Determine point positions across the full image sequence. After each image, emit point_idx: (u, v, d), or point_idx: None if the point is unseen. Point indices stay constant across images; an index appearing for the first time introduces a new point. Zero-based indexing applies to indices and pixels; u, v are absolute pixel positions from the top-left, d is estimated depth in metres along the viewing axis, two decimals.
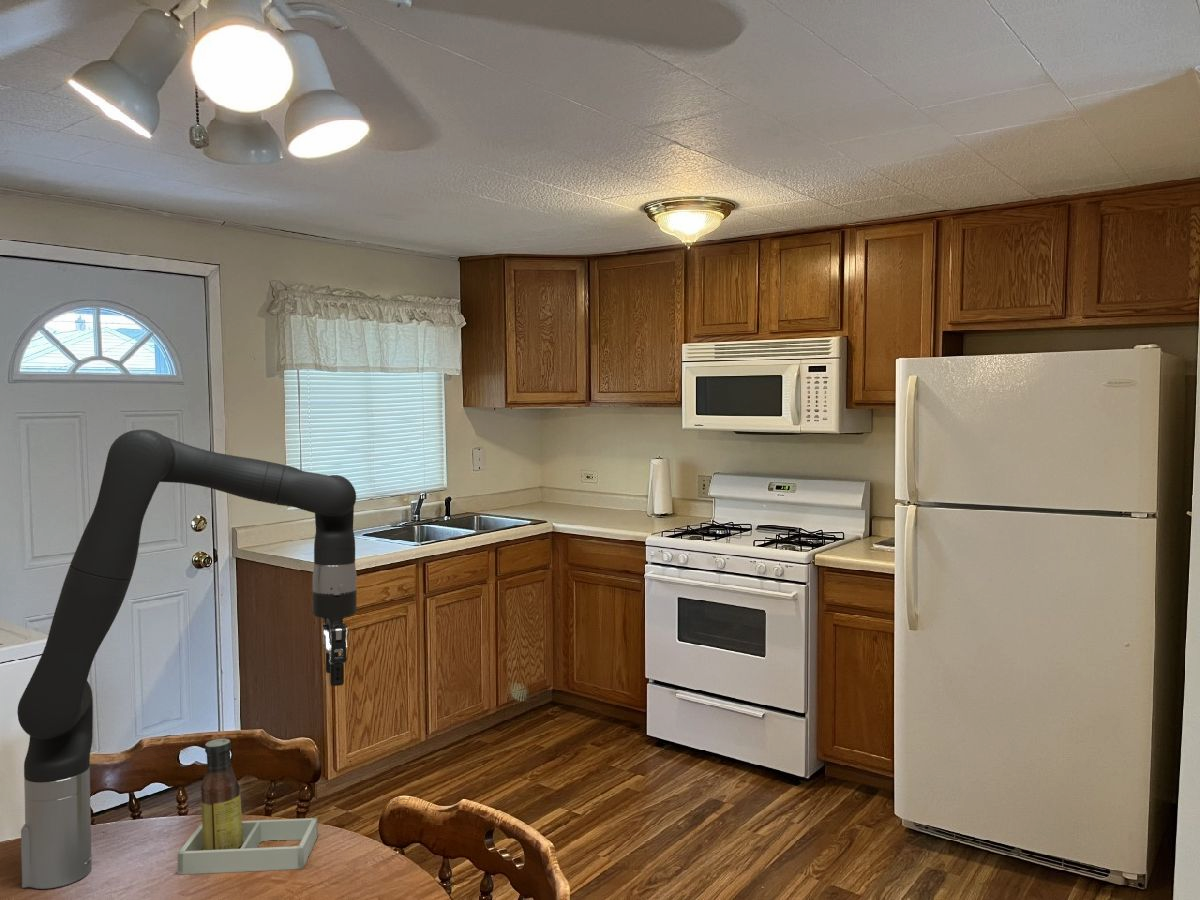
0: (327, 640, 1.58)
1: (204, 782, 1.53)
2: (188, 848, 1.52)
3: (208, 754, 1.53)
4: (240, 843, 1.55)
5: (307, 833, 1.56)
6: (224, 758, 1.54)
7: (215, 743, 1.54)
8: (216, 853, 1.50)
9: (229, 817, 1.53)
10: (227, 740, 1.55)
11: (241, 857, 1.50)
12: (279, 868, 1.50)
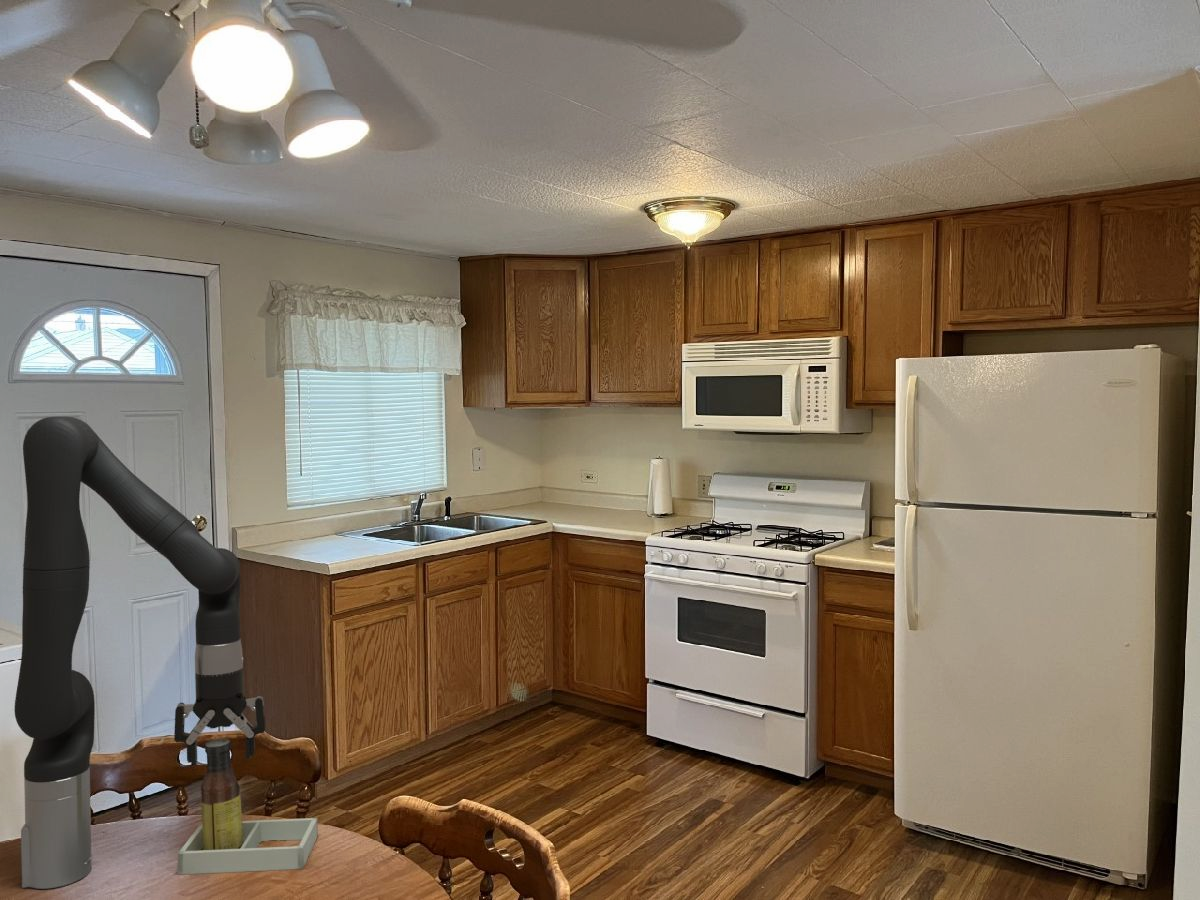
0: (238, 717, 1.54)
1: (204, 782, 1.53)
2: (188, 848, 1.52)
3: (208, 754, 1.53)
4: (240, 843, 1.55)
5: (307, 833, 1.56)
6: (224, 758, 1.54)
7: (215, 743, 1.54)
8: (216, 853, 1.50)
9: (229, 817, 1.53)
10: (227, 740, 1.55)
11: (241, 857, 1.50)
12: (279, 868, 1.50)
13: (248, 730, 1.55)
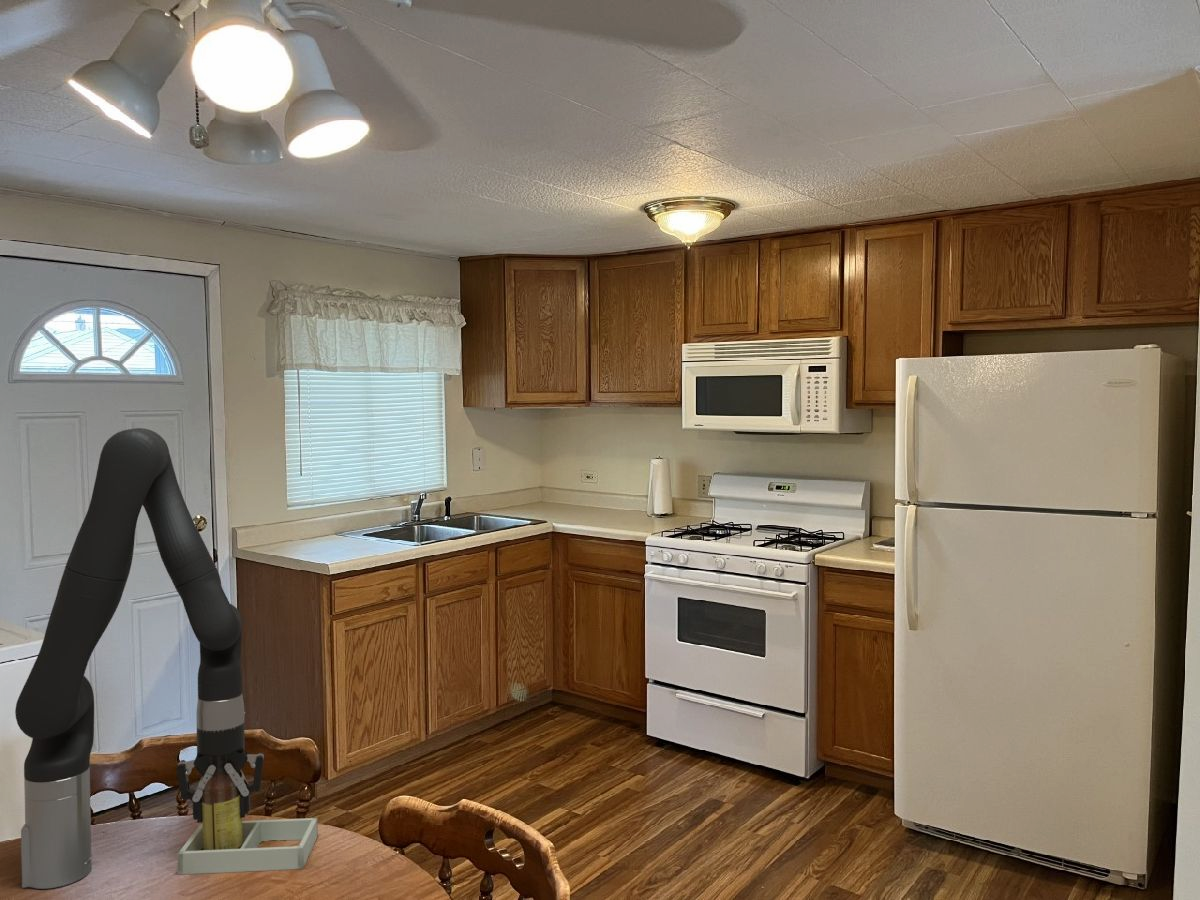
0: (237, 774, 1.54)
1: (204, 782, 1.53)
2: (188, 848, 1.52)
3: None
4: (240, 843, 1.55)
5: (307, 833, 1.56)
6: (225, 757, 1.54)
7: None
8: (216, 853, 1.50)
9: (229, 817, 1.53)
10: None
11: (241, 857, 1.50)
12: (279, 868, 1.50)
13: (243, 788, 1.55)
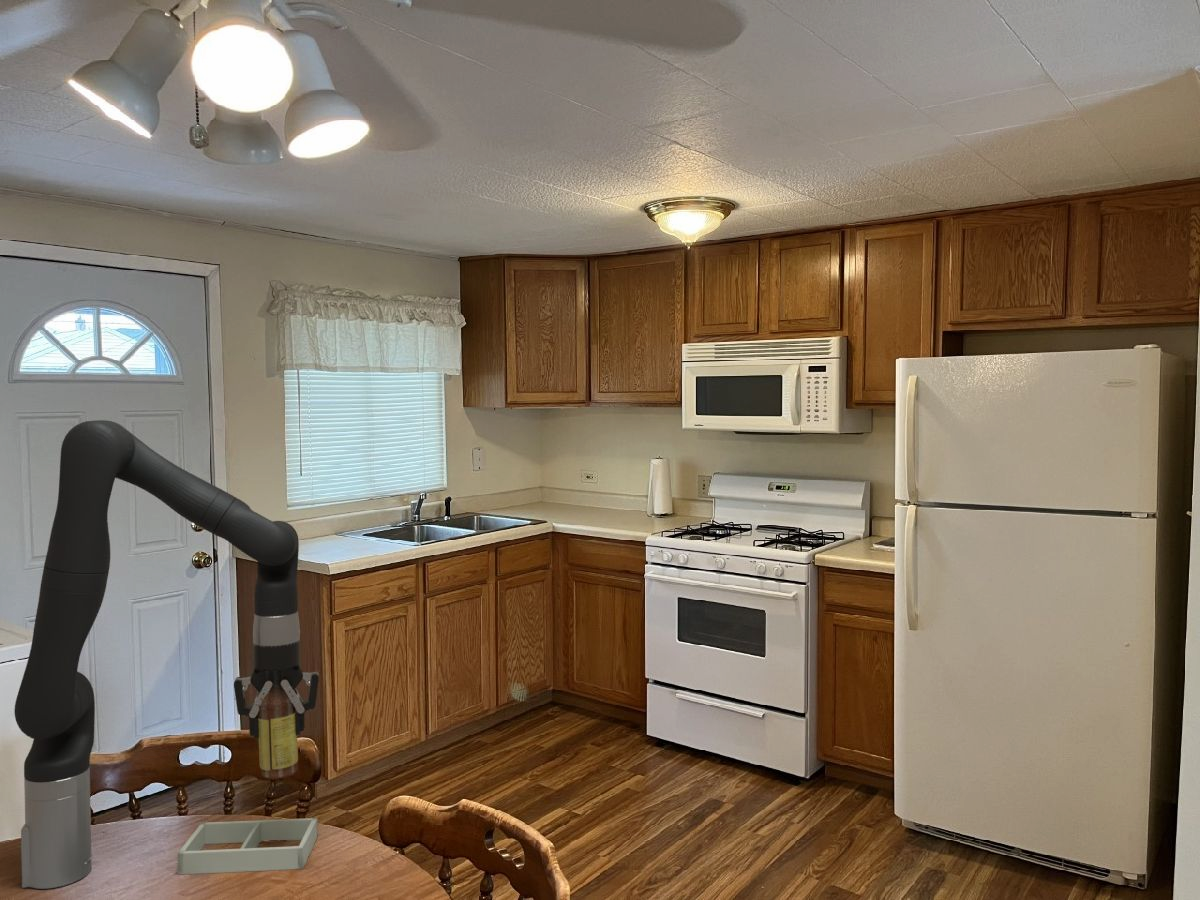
0: (293, 691, 1.55)
1: (261, 698, 1.53)
2: (188, 848, 1.52)
3: None
4: (296, 760, 1.55)
5: (307, 833, 1.56)
6: (281, 674, 1.54)
7: None
8: (216, 853, 1.50)
9: (286, 733, 1.53)
10: None
11: (241, 857, 1.50)
12: (279, 868, 1.50)
13: (299, 705, 1.55)
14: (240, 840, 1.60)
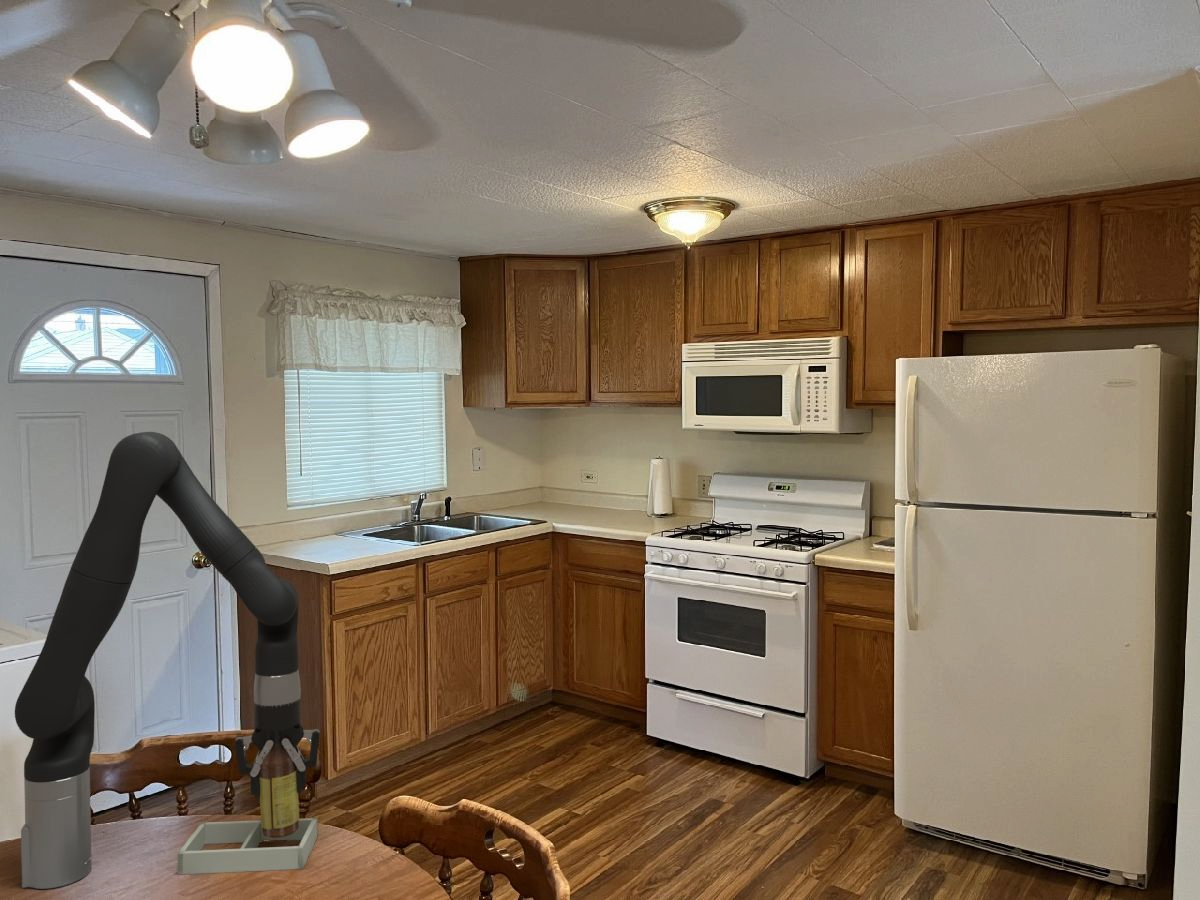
0: (294, 749, 1.55)
1: (262, 757, 1.54)
2: (188, 848, 1.52)
3: None
4: (297, 818, 1.56)
5: (307, 833, 1.56)
6: (282, 733, 1.54)
7: None
8: (216, 853, 1.50)
9: (287, 792, 1.54)
10: None
11: (241, 857, 1.50)
12: (279, 868, 1.50)
13: (300, 764, 1.56)
14: (240, 840, 1.60)
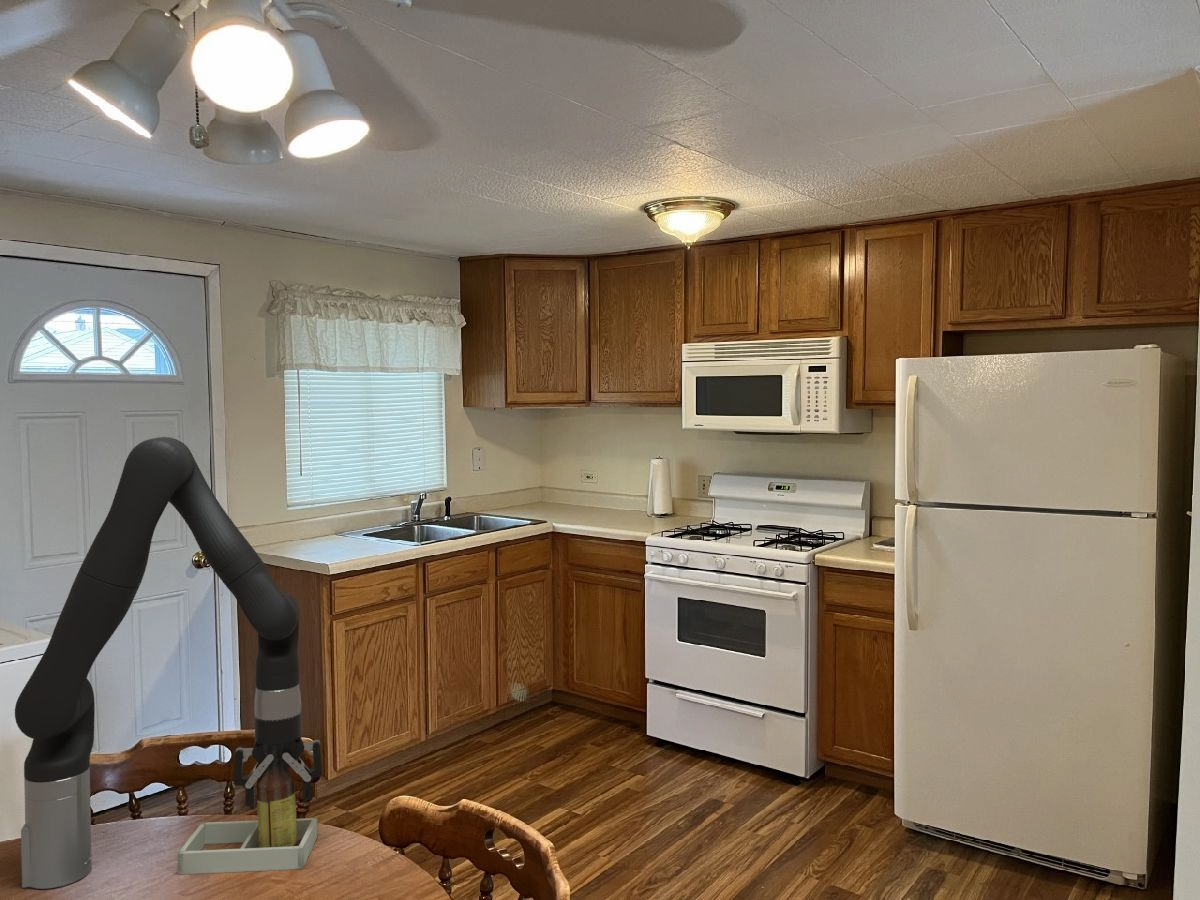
0: (296, 761, 1.55)
1: (260, 780, 1.54)
2: (188, 848, 1.52)
3: (264, 752, 1.54)
4: (295, 841, 1.56)
5: (307, 833, 1.56)
6: (280, 756, 1.55)
7: None
8: (216, 853, 1.50)
9: (285, 815, 1.54)
10: None
11: (241, 857, 1.50)
12: (279, 868, 1.50)
13: (306, 774, 1.56)
14: (240, 840, 1.60)
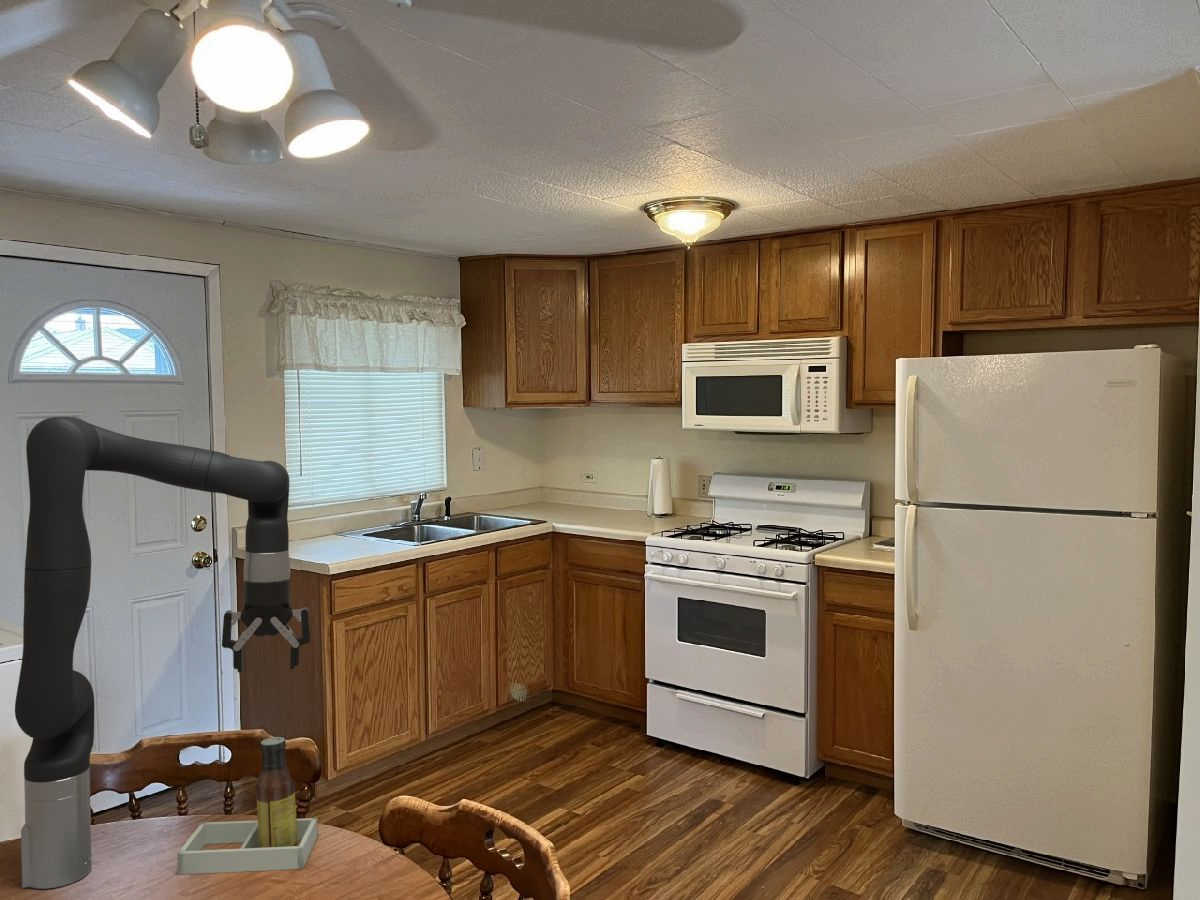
0: (285, 626, 1.56)
1: (260, 780, 1.54)
2: (188, 848, 1.52)
3: (264, 752, 1.54)
4: (295, 841, 1.56)
5: (307, 833, 1.56)
6: (280, 756, 1.55)
7: (270, 741, 1.55)
8: (216, 853, 1.50)
9: (285, 815, 1.54)
10: (282, 738, 1.56)
11: (241, 857, 1.50)
12: (279, 868, 1.50)
13: (293, 640, 1.57)
14: (240, 840, 1.60)
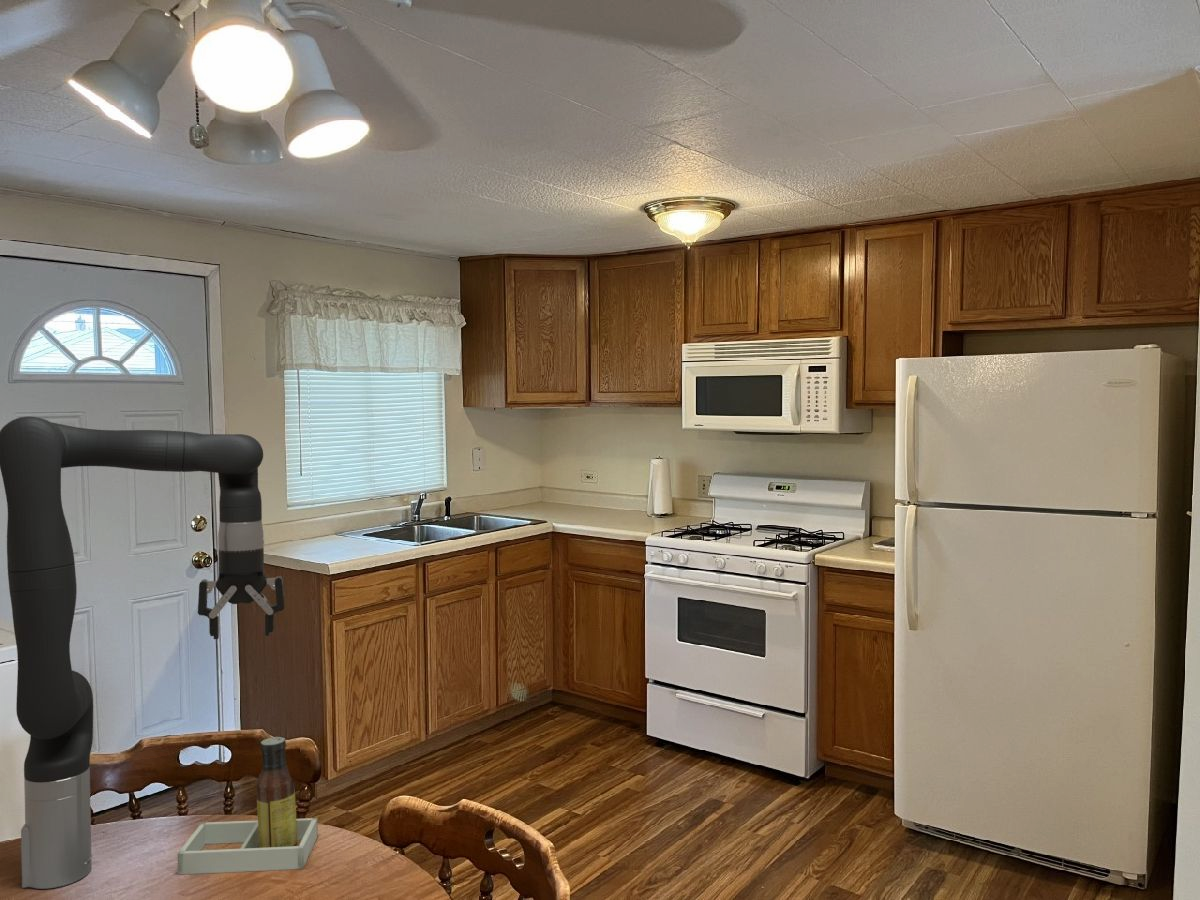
0: (259, 594, 1.61)
1: (260, 780, 1.54)
2: (188, 848, 1.52)
3: (264, 752, 1.54)
4: (295, 841, 1.56)
5: (307, 833, 1.56)
6: (280, 756, 1.55)
7: (270, 741, 1.55)
8: (216, 853, 1.50)
9: (285, 815, 1.54)
10: (282, 738, 1.56)
11: (241, 857, 1.50)
12: (279, 868, 1.50)
13: (268, 607, 1.62)
14: (240, 840, 1.60)
